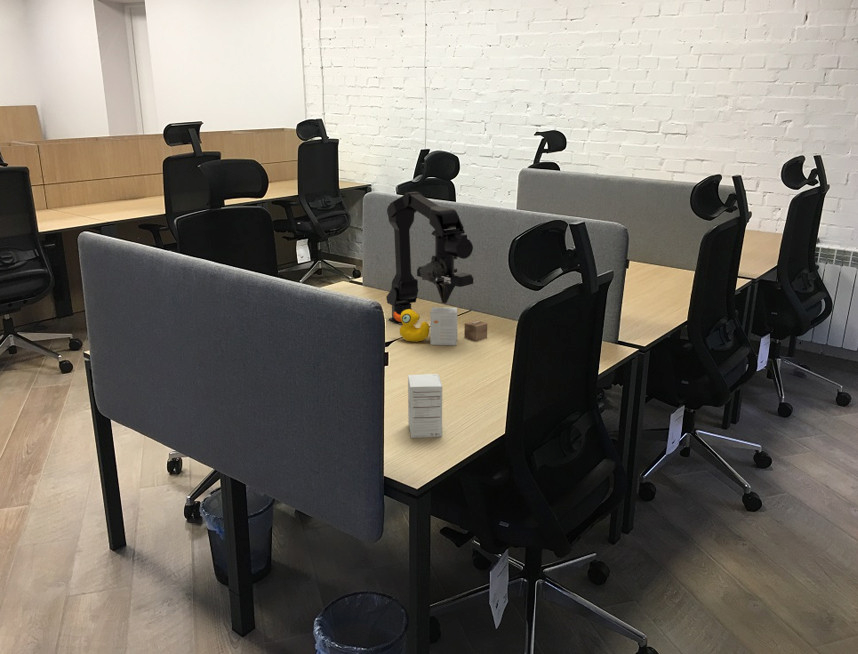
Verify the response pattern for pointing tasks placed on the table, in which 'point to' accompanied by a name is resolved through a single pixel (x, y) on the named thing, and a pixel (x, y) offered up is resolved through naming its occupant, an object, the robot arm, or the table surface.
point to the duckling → (411, 326)
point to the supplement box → (425, 405)
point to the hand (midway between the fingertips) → (444, 303)
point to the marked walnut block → (475, 330)
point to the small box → (443, 326)
